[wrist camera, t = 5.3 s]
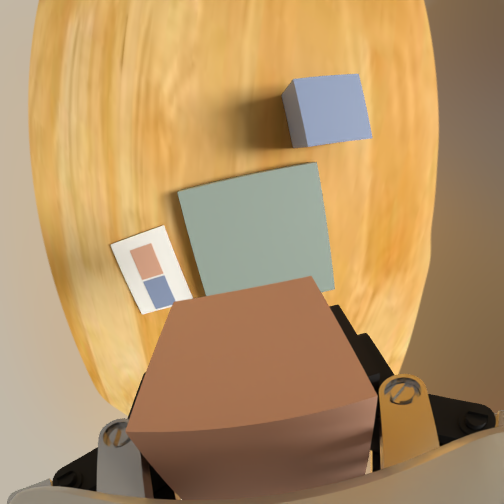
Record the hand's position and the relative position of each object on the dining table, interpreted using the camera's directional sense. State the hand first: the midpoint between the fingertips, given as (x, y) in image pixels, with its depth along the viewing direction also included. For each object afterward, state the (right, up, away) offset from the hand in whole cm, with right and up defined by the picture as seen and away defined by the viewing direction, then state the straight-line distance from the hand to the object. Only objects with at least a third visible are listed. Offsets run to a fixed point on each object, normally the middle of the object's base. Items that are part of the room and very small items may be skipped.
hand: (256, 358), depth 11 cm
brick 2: (+5, +16, +14) cm, 22 cm away
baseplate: (+1, +5, +17) cm, 18 cm away
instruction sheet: (-10, +2, +18) cm, 20 cm away
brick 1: (0, 0, +1) cm, 1 cm away
